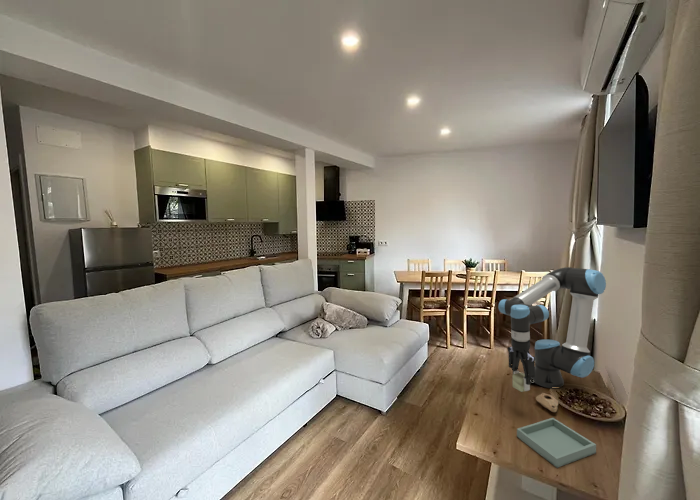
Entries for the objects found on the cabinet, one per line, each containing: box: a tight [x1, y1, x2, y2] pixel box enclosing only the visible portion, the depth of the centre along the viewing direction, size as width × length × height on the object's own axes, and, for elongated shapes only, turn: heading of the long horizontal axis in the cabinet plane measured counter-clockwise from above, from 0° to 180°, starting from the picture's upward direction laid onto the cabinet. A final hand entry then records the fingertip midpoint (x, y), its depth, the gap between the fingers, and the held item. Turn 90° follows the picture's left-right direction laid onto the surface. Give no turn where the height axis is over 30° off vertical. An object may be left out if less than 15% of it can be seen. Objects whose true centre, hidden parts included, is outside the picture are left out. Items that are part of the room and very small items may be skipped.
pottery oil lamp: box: [535, 392, 559, 413], centre depth 148 cm, size 9×12×7 cm
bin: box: [516, 417, 597, 469], centre depth 125 cm, size 20×18×4 cm
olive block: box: [511, 372, 525, 393], centre depth 144 cm, size 5×5×6 cm
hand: (521, 387), depth 144 cm, fingers closed on olive block, 5 cm apart
